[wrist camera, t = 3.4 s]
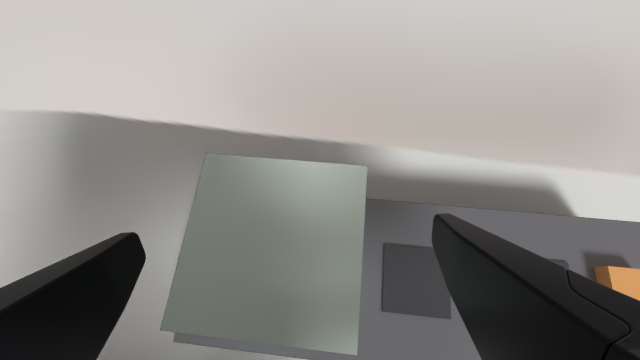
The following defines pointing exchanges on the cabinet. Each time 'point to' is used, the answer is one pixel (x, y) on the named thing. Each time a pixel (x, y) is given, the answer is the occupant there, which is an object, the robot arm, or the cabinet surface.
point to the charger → (272, 254)
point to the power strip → (429, 285)
